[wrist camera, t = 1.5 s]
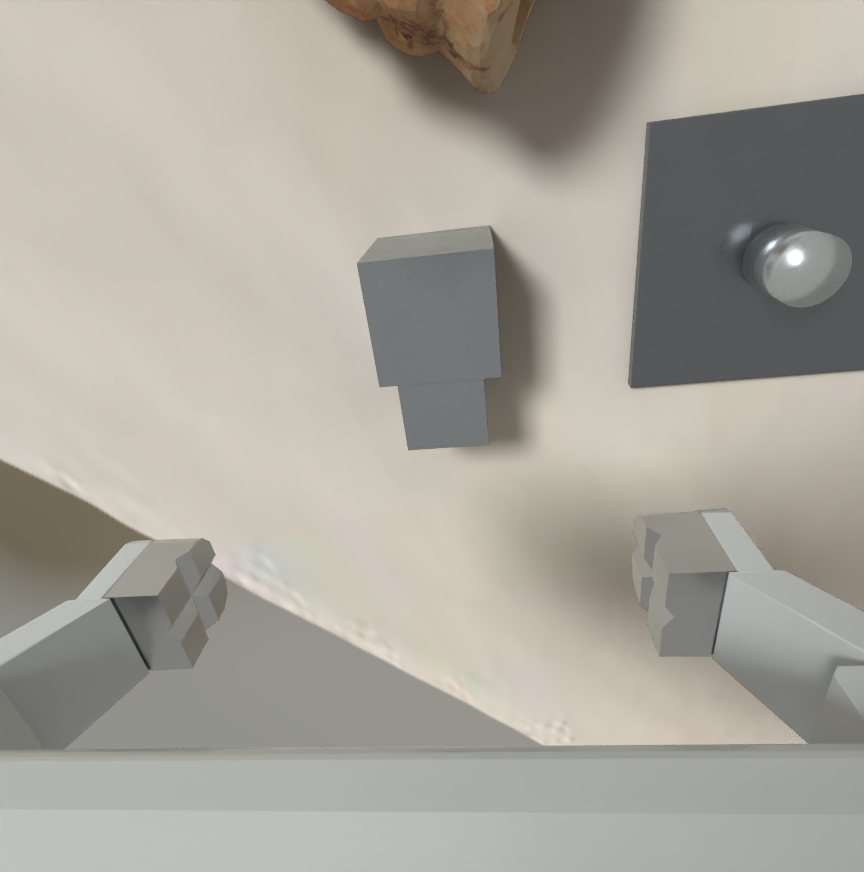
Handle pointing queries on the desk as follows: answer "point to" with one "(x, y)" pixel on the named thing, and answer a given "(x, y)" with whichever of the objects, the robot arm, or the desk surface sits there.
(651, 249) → the duct plate
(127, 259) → the desk surface
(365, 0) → the clay pipe
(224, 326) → the desk surface
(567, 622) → the desk surface
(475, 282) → the stepped gray block
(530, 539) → the desk surface
